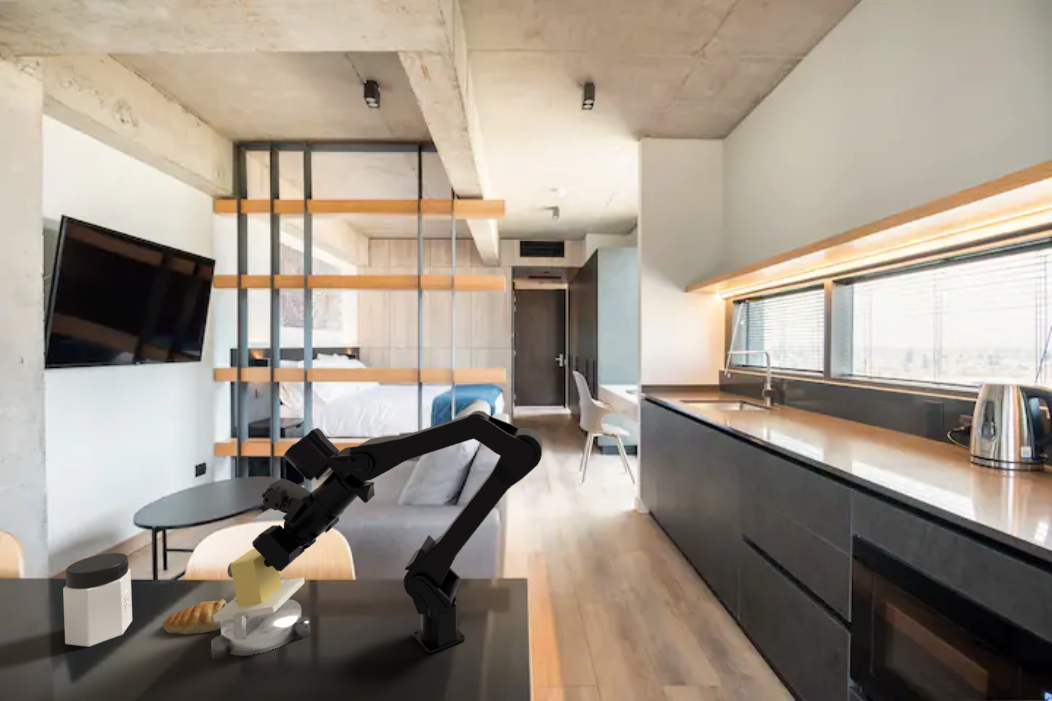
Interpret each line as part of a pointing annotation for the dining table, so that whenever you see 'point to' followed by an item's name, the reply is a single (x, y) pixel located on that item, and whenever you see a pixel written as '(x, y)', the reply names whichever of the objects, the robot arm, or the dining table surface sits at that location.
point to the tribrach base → (260, 631)
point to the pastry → (195, 618)
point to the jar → (97, 599)
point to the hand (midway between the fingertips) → (266, 564)
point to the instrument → (256, 588)
